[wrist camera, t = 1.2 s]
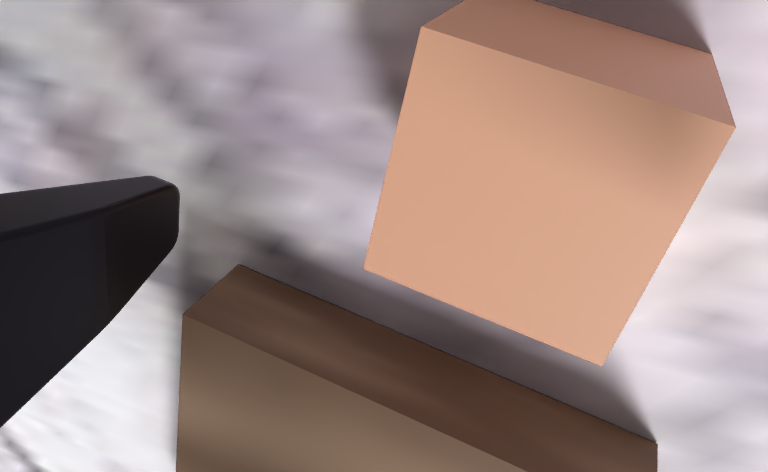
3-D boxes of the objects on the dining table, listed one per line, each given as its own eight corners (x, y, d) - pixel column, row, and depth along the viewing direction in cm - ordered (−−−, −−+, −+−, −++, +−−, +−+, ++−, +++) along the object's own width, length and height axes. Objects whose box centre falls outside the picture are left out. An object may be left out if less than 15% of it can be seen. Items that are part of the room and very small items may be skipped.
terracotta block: (615, 244, 16) (601, 366, 12) (433, 177, 17) (363, 268, 13) (711, 53, 13) (735, 126, 9) (488, -14, 14) (421, 26, 10)
